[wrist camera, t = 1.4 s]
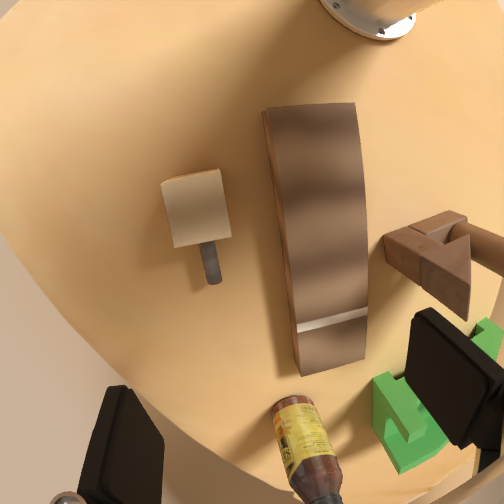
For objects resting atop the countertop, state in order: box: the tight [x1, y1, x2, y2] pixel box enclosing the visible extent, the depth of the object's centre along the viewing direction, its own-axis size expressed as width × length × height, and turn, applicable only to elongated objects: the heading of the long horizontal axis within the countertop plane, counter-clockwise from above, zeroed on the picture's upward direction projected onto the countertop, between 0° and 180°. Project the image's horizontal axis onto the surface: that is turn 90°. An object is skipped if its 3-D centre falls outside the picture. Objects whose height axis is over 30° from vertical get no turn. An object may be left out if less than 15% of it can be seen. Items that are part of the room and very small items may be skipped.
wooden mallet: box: [383, 210, 504, 322], centre depth 24 cm, size 4×11×18 cm, turn 107°
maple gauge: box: [160, 168, 232, 285], centre depth 26 cm, size 10×4×6 cm, turn 9°
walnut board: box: [262, 103, 368, 377], centre depth 29 cm, size 28×8×3 cm, turn 9°
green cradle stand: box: [372, 318, 504, 475], centre depth 36 cm, size 24×13×12 cm, turn 105°
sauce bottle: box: [272, 395, 343, 504], centre depth 29 cm, size 7×6×20 cm
